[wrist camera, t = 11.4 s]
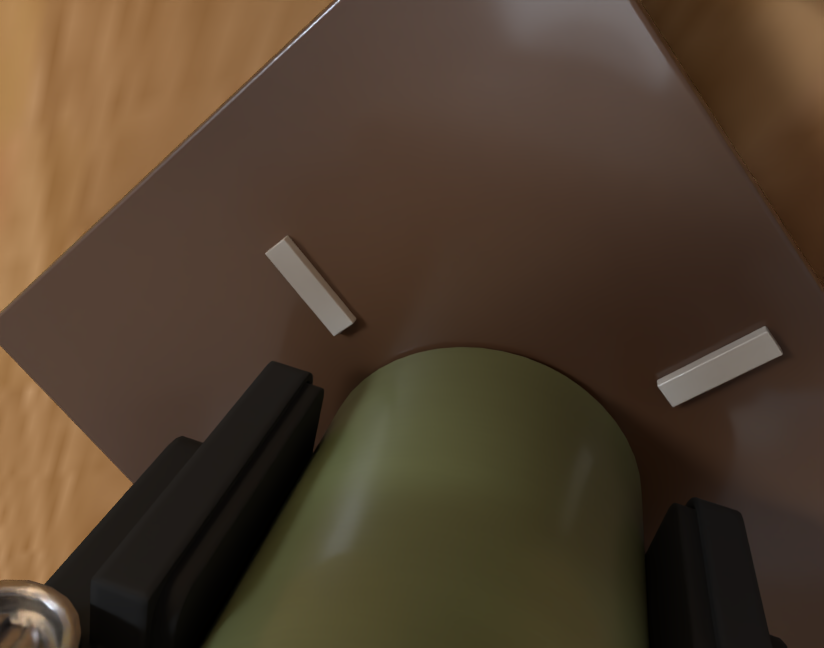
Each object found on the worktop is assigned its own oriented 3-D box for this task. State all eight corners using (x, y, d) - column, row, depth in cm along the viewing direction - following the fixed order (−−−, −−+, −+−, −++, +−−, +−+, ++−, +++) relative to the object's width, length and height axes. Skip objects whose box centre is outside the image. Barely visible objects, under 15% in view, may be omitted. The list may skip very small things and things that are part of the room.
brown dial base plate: (981, 534, 12) (1070, 675, 10) (475, 704, 16) (453, 829, 14) (543, -150, 9) (520, -182, 7) (81, 268, 14) (-27, 333, 12)
